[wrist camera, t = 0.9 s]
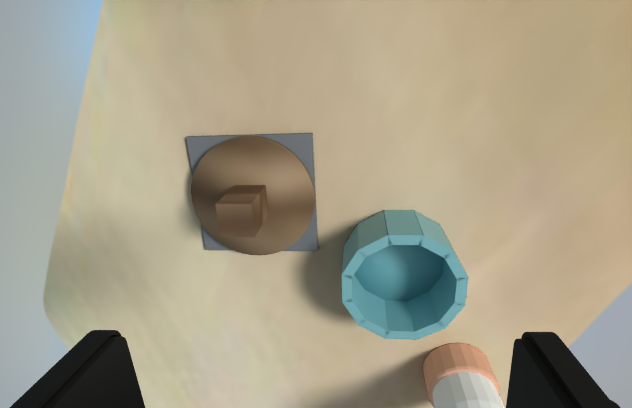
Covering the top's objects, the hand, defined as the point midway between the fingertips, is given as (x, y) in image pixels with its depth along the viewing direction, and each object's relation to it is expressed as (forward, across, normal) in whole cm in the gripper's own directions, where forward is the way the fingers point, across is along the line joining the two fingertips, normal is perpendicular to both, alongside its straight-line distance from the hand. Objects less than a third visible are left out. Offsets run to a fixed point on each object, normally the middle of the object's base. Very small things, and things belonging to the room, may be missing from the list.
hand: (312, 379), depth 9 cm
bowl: (+27, -5, +11) cm, 29 cm away
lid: (+26, +9, +3) cm, 28 cm away
